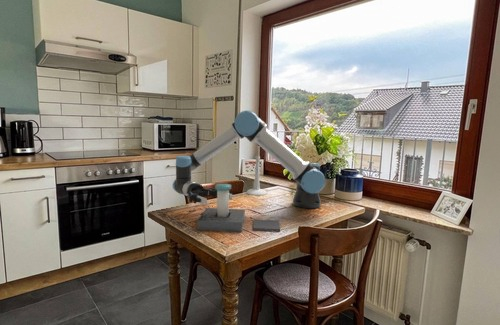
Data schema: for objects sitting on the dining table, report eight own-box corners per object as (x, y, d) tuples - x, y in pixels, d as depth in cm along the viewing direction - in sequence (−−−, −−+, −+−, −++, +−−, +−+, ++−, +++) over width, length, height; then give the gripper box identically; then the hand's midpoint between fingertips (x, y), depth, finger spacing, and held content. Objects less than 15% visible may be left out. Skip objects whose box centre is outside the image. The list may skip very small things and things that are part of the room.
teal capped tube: (231, 221, 132) (232, 183, 130) (229, 226, 125) (230, 187, 123) (216, 220, 132) (216, 183, 130) (213, 225, 126) (213, 186, 123)
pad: (278, 222, 132) (278, 220, 132) (280, 231, 121) (280, 229, 121) (254, 221, 133) (254, 219, 133) (253, 230, 122) (253, 227, 122)
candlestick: (242, 193, 185) (243, 145, 181) (255, 189, 195) (256, 144, 191) (258, 196, 177) (259, 146, 173) (270, 193, 187) (272, 145, 182)
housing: (244, 217, 137) (245, 209, 137) (241, 232, 120) (241, 222, 119) (206, 216, 138) (206, 207, 138) (197, 230, 120) (197, 220, 120)
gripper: (214, 194, 153) (241, 203, 137) (170, 201, 137) (194, 213, 121) (214, 180, 152) (241, 187, 136) (169, 186, 136) (194, 195, 120)
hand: (219, 199), depth 129 cm, fingers open, 13 cm apart
